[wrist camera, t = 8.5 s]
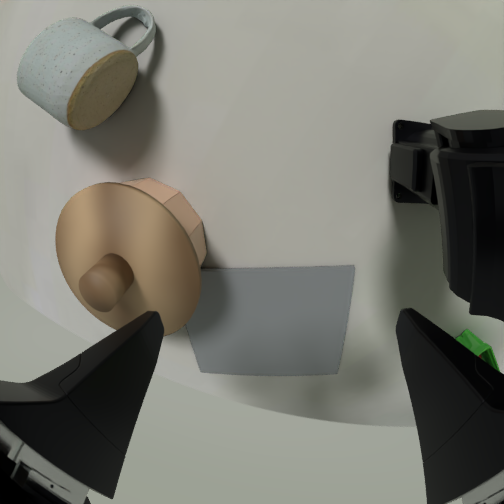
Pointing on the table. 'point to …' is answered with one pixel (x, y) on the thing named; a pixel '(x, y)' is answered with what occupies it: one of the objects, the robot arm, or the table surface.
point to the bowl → (176, 211)
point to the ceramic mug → (82, 68)
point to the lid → (127, 256)
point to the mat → (272, 320)
